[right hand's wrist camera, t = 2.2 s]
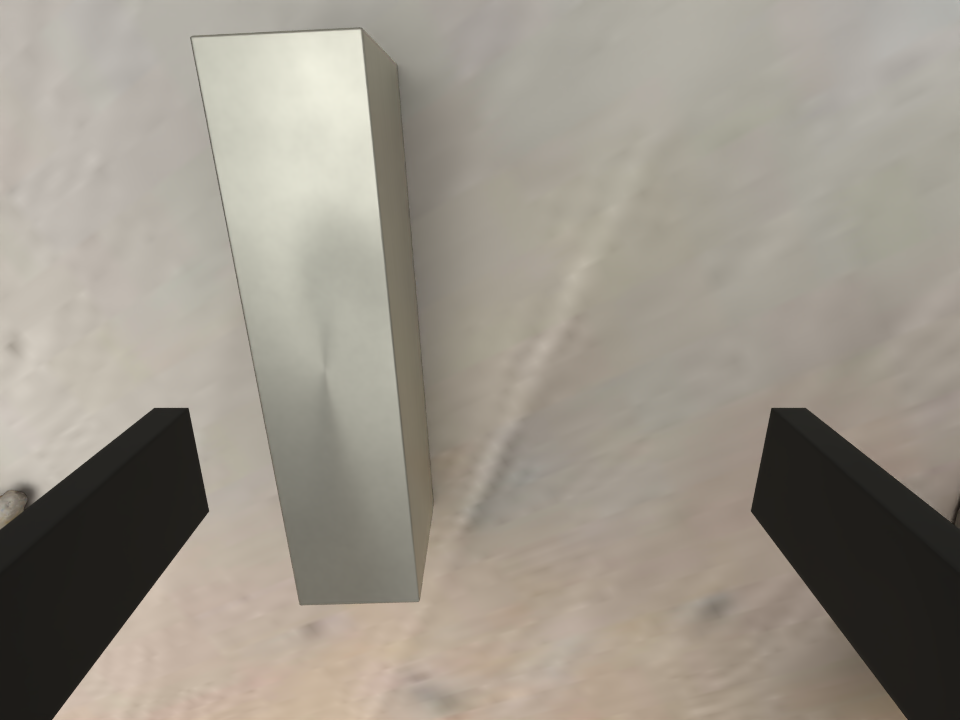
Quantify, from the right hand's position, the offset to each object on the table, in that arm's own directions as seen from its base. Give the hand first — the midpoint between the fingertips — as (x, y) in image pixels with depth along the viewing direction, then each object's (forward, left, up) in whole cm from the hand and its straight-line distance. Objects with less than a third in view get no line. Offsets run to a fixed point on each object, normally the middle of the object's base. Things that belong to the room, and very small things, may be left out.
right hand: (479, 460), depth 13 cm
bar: (-1, +6, -18) cm, 19 cm away
